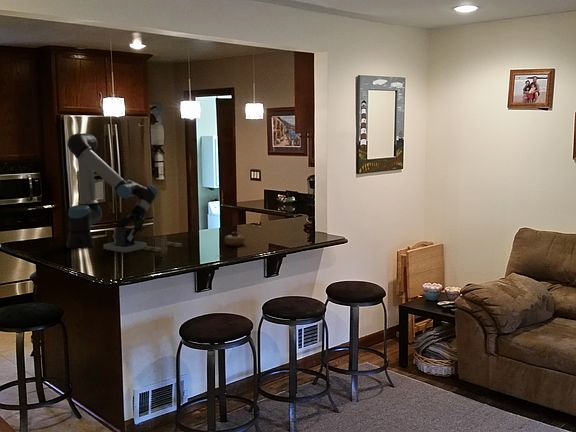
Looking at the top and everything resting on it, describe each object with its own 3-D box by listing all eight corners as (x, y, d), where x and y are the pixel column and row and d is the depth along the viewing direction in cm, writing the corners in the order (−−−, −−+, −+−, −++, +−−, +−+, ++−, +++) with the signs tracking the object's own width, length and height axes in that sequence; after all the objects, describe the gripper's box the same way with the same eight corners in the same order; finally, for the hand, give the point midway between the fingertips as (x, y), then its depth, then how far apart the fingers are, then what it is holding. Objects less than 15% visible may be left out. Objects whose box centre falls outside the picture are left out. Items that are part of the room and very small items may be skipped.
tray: (103, 249, 354) (103, 244, 353) (125, 245, 368) (125, 240, 367) (124, 252, 345) (124, 247, 344) (146, 248, 359) (146, 242, 358)
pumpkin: (220, 245, 370) (220, 230, 369) (235, 242, 379) (235, 228, 378) (234, 247, 362) (234, 232, 361) (249, 245, 371) (249, 230, 370)
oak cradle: (144, 249, 354) (144, 246, 353) (166, 244, 369) (166, 241, 369) (160, 252, 347) (160, 248, 347) (182, 247, 363) (182, 243, 362)
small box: (135, 246, 355) (135, 228, 353) (125, 248, 350) (124, 229, 349) (125, 244, 362) (124, 226, 361) (115, 245, 357) (114, 227, 356)
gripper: (158, 214, 360) (139, 245, 350) (129, 211, 373) (110, 240, 362) (152, 206, 355) (132, 236, 344) (122, 203, 367) (103, 232, 357)
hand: (121, 238), depth 353 cm, fingers closed on small box, 11 cm apart
